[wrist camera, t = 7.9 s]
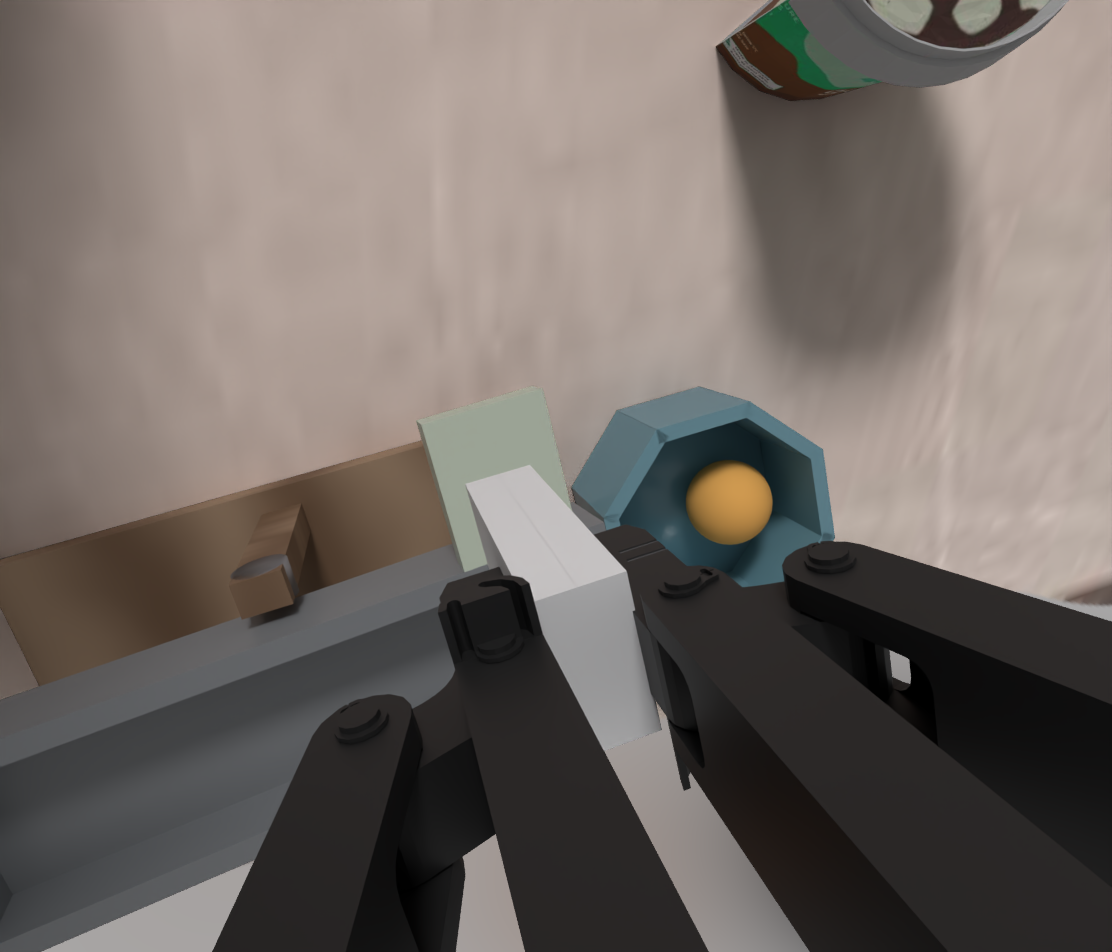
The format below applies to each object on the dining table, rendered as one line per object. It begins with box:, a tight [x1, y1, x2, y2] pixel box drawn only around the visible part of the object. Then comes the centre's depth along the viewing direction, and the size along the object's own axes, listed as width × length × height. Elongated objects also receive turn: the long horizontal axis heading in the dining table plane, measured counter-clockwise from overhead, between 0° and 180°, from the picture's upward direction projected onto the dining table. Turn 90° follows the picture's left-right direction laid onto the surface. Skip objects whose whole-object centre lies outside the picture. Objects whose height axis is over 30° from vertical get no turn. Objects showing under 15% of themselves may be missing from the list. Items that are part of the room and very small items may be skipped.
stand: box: [0, 441, 452, 686], centre depth 29 cm, size 22×12×9 cm, turn 103°
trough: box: [0, 386, 606, 952], centre depth 25 cm, size 22×12×5 cm, turn 103°
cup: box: [572, 387, 835, 587], centre depth 34 cm, size 10×10×5 cm
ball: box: [686, 460, 773, 545], centre depth 34 cm, size 4×4×4 cm
